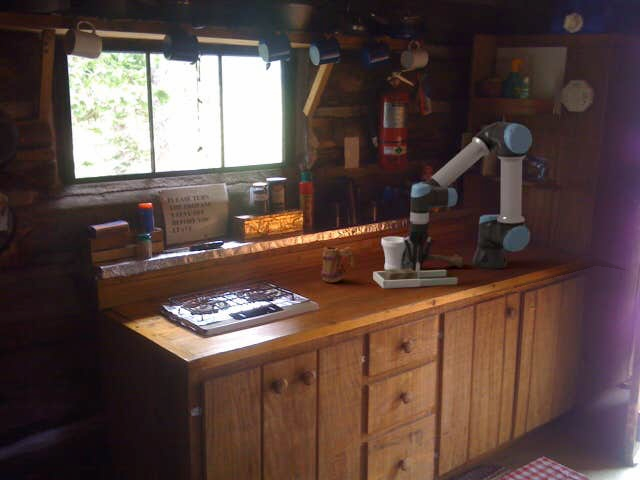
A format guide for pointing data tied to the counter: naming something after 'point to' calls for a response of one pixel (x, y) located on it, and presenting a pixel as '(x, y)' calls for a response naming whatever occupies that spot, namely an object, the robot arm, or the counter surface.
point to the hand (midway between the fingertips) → (416, 277)
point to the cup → (393, 252)
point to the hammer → (432, 259)
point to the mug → (336, 263)
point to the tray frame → (394, 281)
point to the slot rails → (436, 280)
